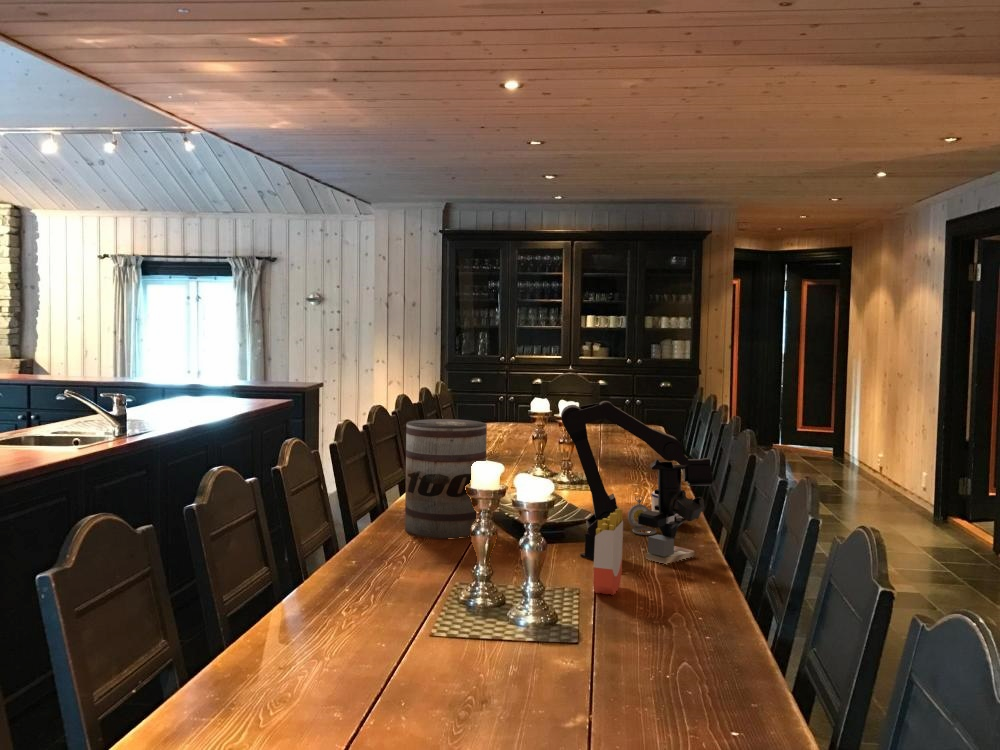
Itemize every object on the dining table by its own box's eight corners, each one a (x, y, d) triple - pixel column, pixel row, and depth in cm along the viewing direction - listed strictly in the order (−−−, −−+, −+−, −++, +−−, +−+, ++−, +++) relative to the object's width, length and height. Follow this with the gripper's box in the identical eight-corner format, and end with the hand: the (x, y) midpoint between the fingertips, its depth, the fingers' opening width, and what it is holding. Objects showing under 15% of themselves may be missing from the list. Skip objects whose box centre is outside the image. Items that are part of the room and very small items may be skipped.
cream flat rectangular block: (664, 564, 217) (665, 558, 217) (645, 559, 222) (645, 553, 221) (694, 556, 225) (694, 550, 225) (675, 551, 229) (675, 545, 229)
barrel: (423, 542, 234) (425, 430, 232) (392, 524, 253) (394, 420, 252) (498, 534, 244) (501, 426, 242) (463, 517, 264) (465, 418, 262)
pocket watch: (649, 537, 244) (650, 501, 244) (622, 532, 250) (623, 497, 249) (662, 532, 251) (664, 497, 250) (636, 527, 256) (637, 493, 255)
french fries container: (591, 596, 191) (593, 514, 190) (601, 582, 201) (603, 504, 200) (612, 598, 190) (614, 516, 188) (621, 584, 200) (623, 506, 199)
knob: (663, 556, 217) (664, 540, 217) (647, 552, 221) (648, 536, 221) (673, 554, 220) (674, 538, 220) (657, 549, 224) (658, 534, 223)
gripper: (672, 498, 209) (673, 562, 211) (718, 484, 221) (718, 545, 223) (636, 490, 217) (636, 552, 219) (682, 477, 230) (682, 536, 231)
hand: (669, 546), depth 223 cm, fingers closed
